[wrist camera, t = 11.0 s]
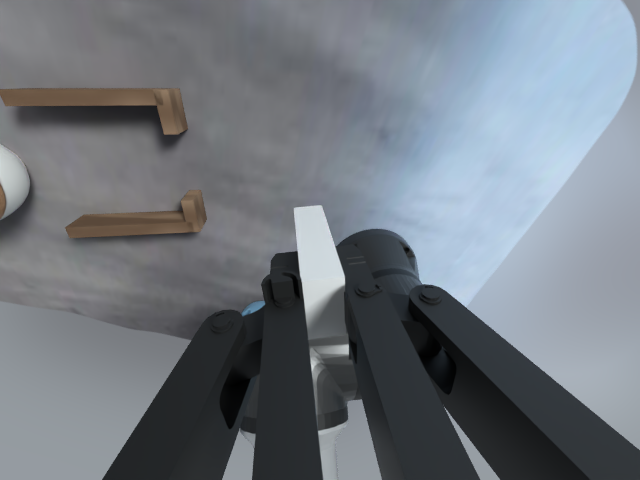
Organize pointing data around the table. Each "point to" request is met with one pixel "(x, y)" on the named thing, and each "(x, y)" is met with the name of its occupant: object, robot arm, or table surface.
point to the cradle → (171, 124)
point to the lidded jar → (12, 182)
